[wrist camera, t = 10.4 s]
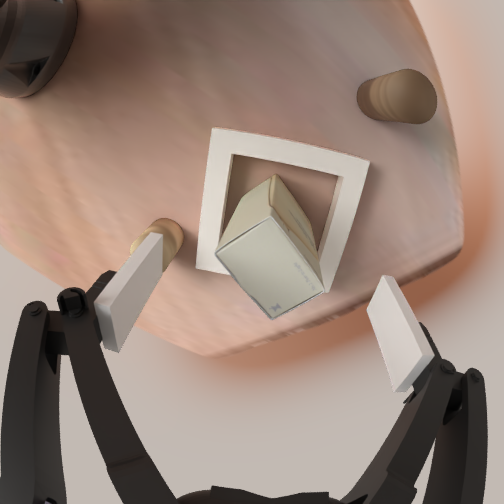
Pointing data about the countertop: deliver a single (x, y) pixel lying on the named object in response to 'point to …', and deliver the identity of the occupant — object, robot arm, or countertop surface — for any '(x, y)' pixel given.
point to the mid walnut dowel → (398, 97)
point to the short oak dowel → (171, 239)
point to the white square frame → (287, 152)
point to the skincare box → (272, 250)
